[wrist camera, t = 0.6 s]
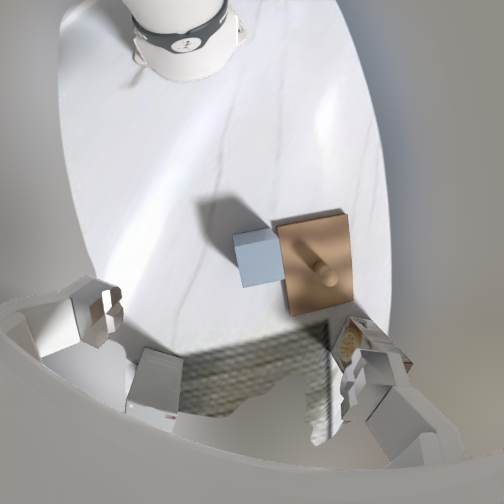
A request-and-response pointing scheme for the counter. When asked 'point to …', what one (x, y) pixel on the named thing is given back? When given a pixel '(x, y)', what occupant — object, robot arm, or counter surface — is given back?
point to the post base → (310, 251)
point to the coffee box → (363, 342)
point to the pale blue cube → (258, 257)
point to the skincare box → (155, 390)
